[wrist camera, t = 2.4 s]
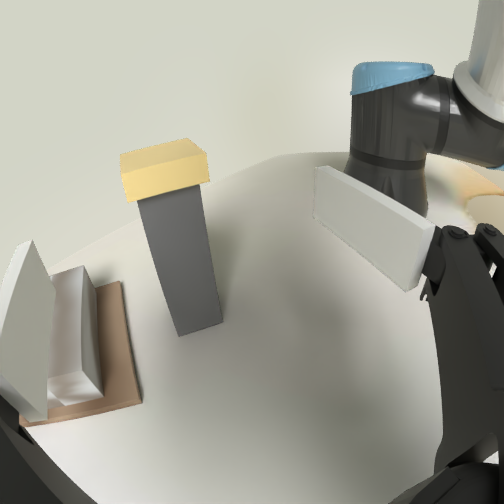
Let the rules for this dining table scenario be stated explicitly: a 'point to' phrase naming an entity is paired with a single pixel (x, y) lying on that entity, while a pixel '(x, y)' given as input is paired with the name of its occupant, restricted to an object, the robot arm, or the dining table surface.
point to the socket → (87, 351)
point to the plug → (176, 227)
